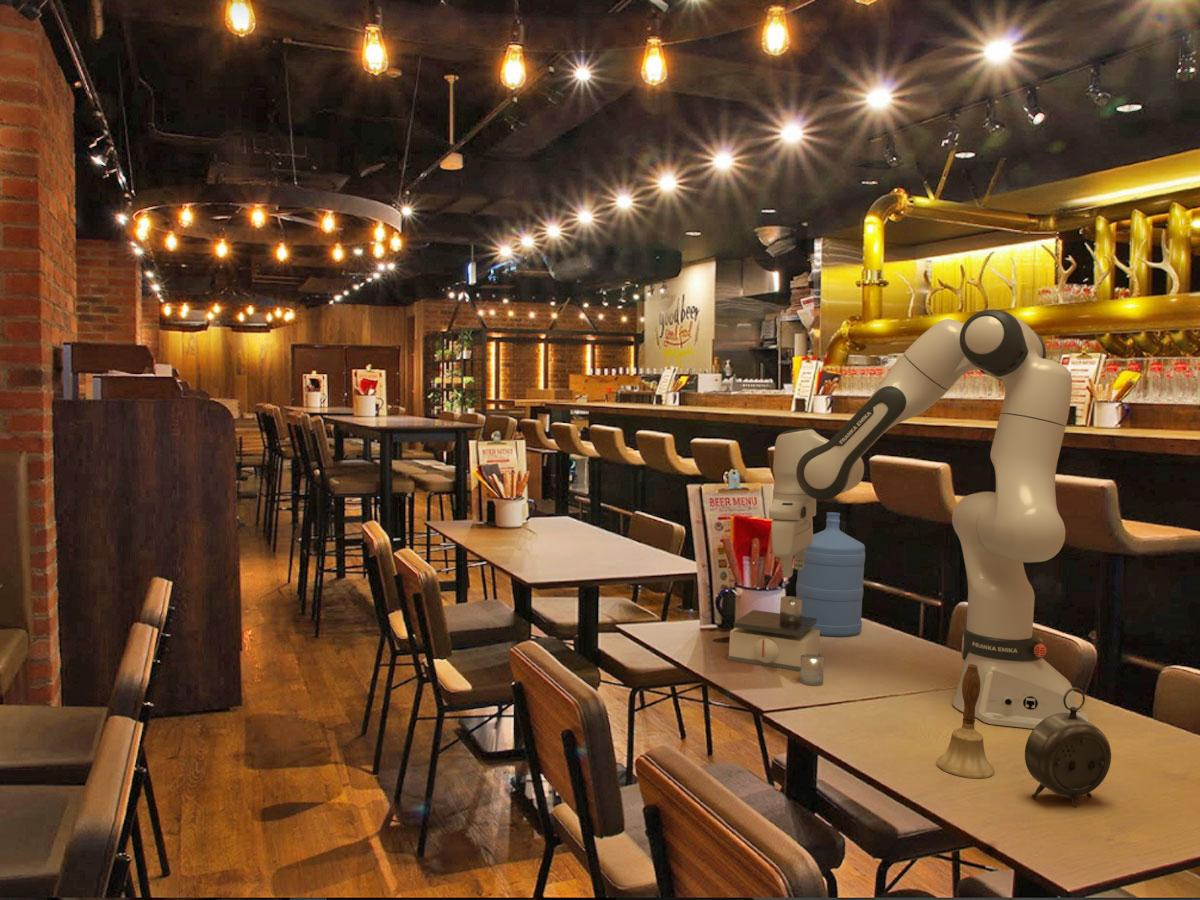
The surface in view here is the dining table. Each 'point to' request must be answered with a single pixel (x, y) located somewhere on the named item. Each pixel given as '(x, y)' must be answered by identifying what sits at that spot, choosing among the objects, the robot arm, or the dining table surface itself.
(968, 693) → the hand bell
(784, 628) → the pan
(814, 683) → the small glass cup
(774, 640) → the scale body
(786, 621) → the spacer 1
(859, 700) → the dining table surface
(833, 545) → the water jug
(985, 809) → the dining table surface
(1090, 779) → the alarm clock
